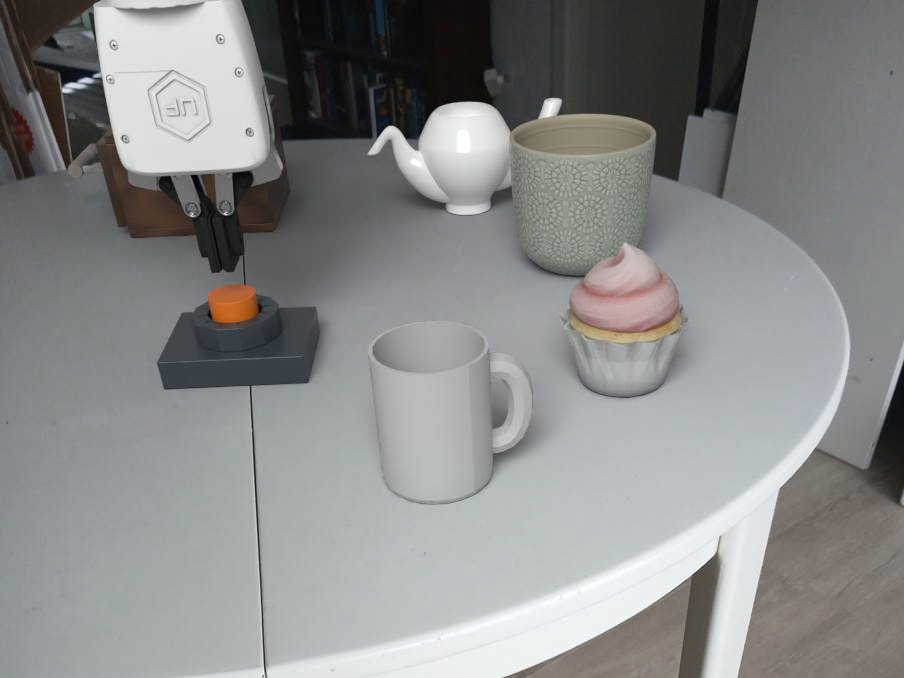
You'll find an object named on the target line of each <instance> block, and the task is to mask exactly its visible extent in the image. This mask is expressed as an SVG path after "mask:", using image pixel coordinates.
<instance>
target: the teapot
mask: <svg viewBox="0 0 904 678" xmlns="http://www.w3.org/2000/svg"><path fill="white" fill-rule="evenodd" d="M562 104H563V100H562V99H561V98H559V97H550V98H546V99H544V100H543V104H542V107H541V110H540V113H539V115H538V117H537V119H541V118H545V117H551V116H558V115H559V112H560V110H561V109H562V108H561V107H562ZM511 132H512V130H511V129H510V128H509V126H508V124H507V122H506V121H505V119H504V117H503V115H501V113H500V111H499V110H498V109H497V108H495V106H493V105H491V104H488V103H485V102H481V101H458V102H452V103H447V104H443V105H440V106H438V107H436V108H435V109H434V110H433V111H432V112H431V113H430V115H429V116H428V118H427V120H426V122H425V124H424V126H423V129H422V131H421V132H420V135H419V137H418V141H417V149H414V148H413V147H412V146H411V145H410V143H408V141H407V139H406V137H405V136H404V134H403V133H402V131H401V130H400V129H399V128H398V127H396V126H394V125H388V126H386V127H385V128H384V129H383V131H382V132H381V133H380V134H379V136H378V137H377V139H376V140H375V141H374V143H373V145H372V146H371V147H370V149H369V150H368V152H367V153H366V154H367V155H368V156H374V155H377V154H380V153H381V152H382V150H383V148H384V146H385V145H386V143H387V142H388V141H390V142H391V146H392V151H393V155H394V156H393V157H394V159H395V163H396V165H397V167H398V169H399V171H400V172H401V174H402V175H403V177H404V178H405V179H406V181H407V182H408V183H409V185H410V186H411V187H412V188H414V190H415V191H416V192H417V193H419V194H421V195H422V196H423V197H426V198H427V199H429V200H431V201H434V202H437V203H441V204H445V210H446V212H448V213H451V214H453V215H457V216H475V215H479V214H483V213H486V212H488V211H490V209H491V208H492V202H491V198H492V196H493V195H494V194H495V192H499V191H503V190H507V189H509V188H511V187H512V185H511V173H510V156H509V135H510V133H511Z"/></svg>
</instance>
